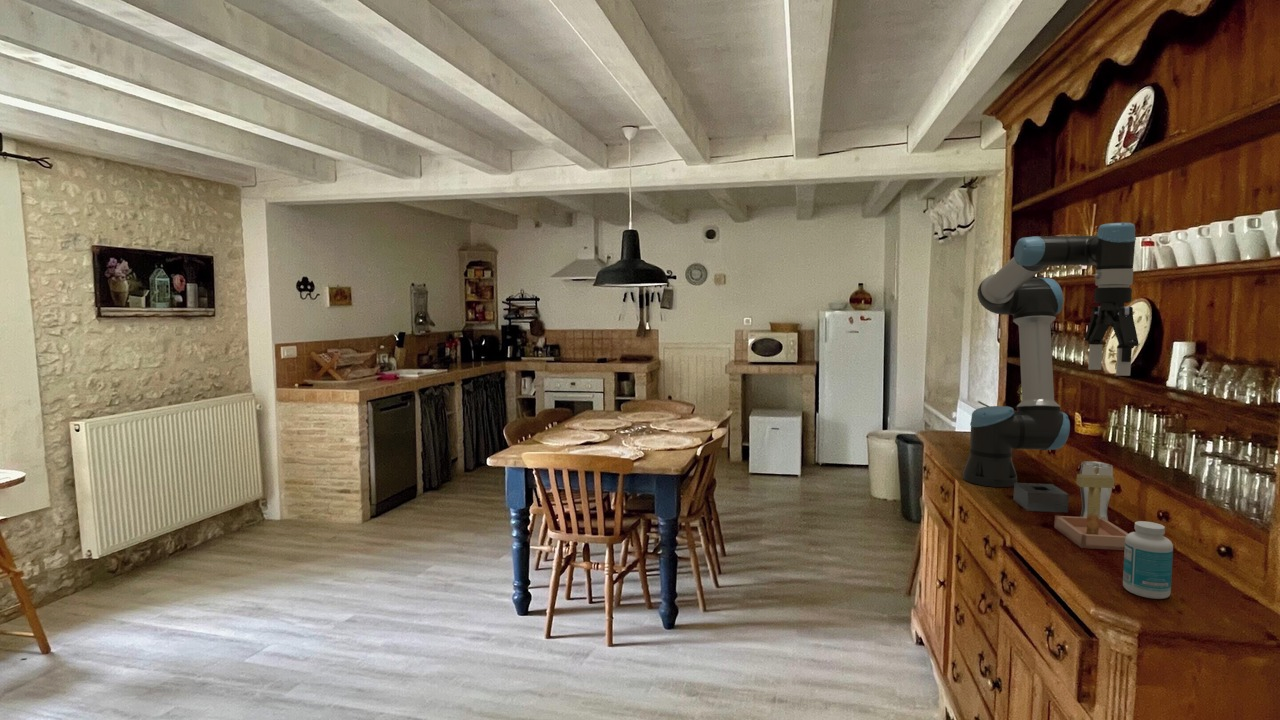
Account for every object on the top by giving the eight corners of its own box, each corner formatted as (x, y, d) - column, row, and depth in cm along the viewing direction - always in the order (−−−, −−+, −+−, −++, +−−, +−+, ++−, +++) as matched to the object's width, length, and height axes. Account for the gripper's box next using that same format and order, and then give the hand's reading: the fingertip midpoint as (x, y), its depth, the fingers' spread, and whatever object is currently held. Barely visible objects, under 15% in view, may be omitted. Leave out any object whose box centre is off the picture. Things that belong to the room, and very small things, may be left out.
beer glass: (1115, 526, 165) (1119, 468, 164) (1084, 525, 166) (1088, 467, 165) (1102, 517, 172) (1105, 461, 171) (1072, 516, 173) (1075, 460, 172)
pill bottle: (1179, 597, 126) (1184, 528, 125) (1153, 603, 124) (1158, 533, 122) (1138, 581, 133) (1142, 516, 132) (1113, 587, 131) (1117, 521, 129)
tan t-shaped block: (1105, 534, 158) (1109, 475, 156) (1111, 537, 155) (1114, 478, 154) (1073, 532, 159) (1076, 474, 158) (1078, 536, 157) (1081, 477, 155)
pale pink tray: (1054, 527, 165) (1054, 515, 165) (1103, 529, 163) (1103, 518, 163) (1081, 547, 151) (1081, 535, 151) (1134, 550, 149) (1135, 538, 149)
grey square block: (1013, 499, 188) (1014, 482, 187) (1051, 501, 186) (1052, 484, 186) (1027, 510, 178) (1028, 492, 177) (1067, 512, 176) (1068, 494, 176)
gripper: (1072, 287, 175) (1068, 367, 177) (1123, 286, 151) (1118, 377, 153) (1104, 287, 174) (1099, 367, 176) (1160, 285, 149) (1154, 378, 151)
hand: (1108, 372), depth 164 cm, fingers open, 13 cm apart
